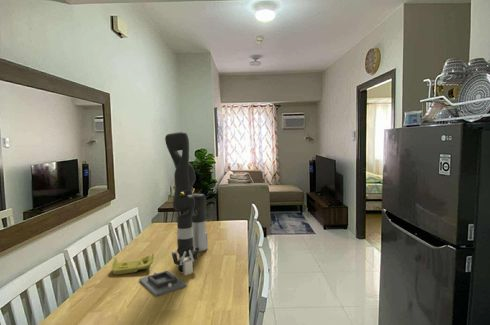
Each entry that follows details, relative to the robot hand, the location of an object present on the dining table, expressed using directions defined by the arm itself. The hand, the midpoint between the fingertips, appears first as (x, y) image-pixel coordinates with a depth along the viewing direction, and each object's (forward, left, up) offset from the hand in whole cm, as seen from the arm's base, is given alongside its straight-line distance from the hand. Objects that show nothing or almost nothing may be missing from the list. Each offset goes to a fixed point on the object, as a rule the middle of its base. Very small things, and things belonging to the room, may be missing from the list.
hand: (186, 270), depth 147 cm
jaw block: (0, 0, -1) cm, 1 cm away
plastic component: (+18, -20, -1) cm, 27 cm away
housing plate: (+14, +4, -1) cm, 15 cm away
